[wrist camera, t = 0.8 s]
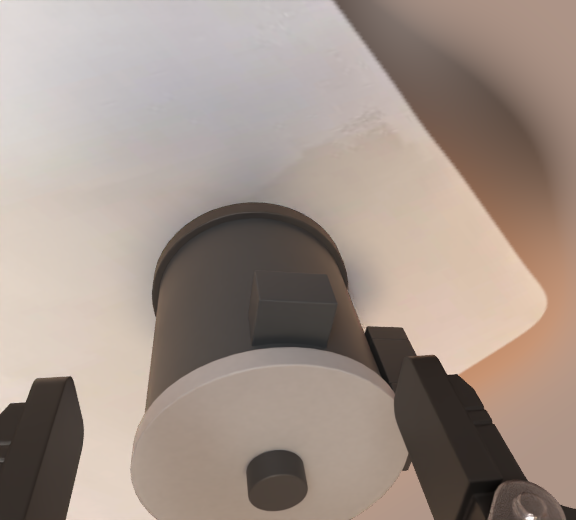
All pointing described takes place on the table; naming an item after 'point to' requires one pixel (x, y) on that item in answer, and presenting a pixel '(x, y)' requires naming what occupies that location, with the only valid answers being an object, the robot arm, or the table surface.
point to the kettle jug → (264, 377)
